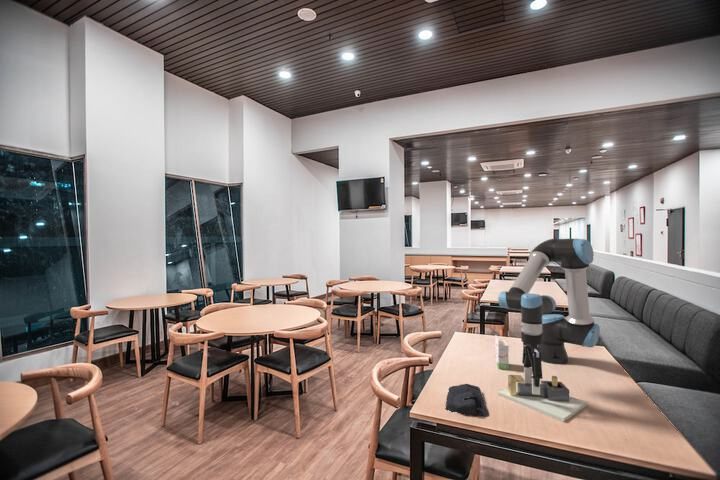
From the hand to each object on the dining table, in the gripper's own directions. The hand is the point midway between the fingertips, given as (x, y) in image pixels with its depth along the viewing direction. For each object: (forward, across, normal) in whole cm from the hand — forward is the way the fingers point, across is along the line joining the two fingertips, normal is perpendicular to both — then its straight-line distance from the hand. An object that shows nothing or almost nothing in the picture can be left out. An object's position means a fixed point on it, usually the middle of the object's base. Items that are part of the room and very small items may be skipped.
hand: (531, 388), depth 135 cm
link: (+3, 0, +4) cm, 4 cm away
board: (+4, +1, +3) cm, 5 cm away
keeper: (+4, 0, -6) cm, 7 cm away
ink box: (+4, -33, -4) cm, 34 cm away
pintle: (+3, 0, +8) cm, 9 cm away
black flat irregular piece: (+5, +6, -27) cm, 28 cm away
